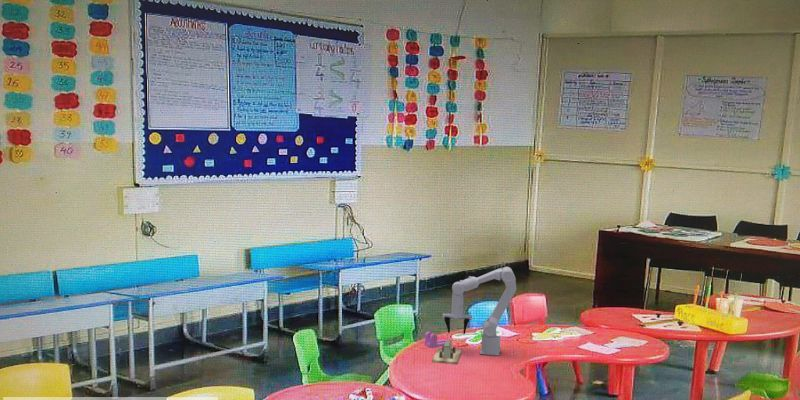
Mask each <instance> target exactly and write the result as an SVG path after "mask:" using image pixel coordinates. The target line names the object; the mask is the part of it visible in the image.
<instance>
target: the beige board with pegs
mask: <svg viewBox="0 0 800 400" xmlns="http://www.w3.org/2000/svg"><path fill="white" fill-rule="evenodd" d="M462 354H463V349H460V348H459V349H457V348H456V346H453V347H452V348H451V353H450V356H449V358H444V346H441V347H437V350H436V352H435V354H434V356H433V358H432V359H431V362H432V363H438V364H439V363H440V364H451V365H458V363H459V362H460V361H459V360H460V357H461V355H462Z"/></svg>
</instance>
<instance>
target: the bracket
mask: <svg viewBox="0 0 800 400" xmlns="http://www.w3.org/2000/svg"><path fill="white" fill-rule="evenodd" d="M446 340H447V339H438V335H437V334H436V333H432V331H431V332H430V331H427V332H425V334H424V346H427V347H428V348H430V349H433V348H440V347H443V346H444V344H445V342H446Z"/></svg>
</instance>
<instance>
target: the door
mask: <svg viewBox="0 0 800 400" xmlns="http://www.w3.org/2000/svg"><path fill="white" fill-rule="evenodd" d="M445 340H446V342H445V344H444V358H449V356H450V353H451V349H452V345H453V343H452V340H451V339H445Z"/></svg>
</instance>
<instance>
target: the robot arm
mask: <svg viewBox="0 0 800 400" xmlns="http://www.w3.org/2000/svg"><path fill="white" fill-rule="evenodd" d="M516 278H517V277H516V276H515V274H514V271H513V270H512V268H511V267H510V266H504V267H500V268H497V269H495V270H492V271H489V272H487V273H485V274H482V275H480V276H478V277H475V276H471V275H469V276H468V278H465V279H463V280H462V279H460V280H459V281H455V282H454V283H453V284H452V286H451V289H452V290H451V291H452V295H451V313H442V319H443V320H444V323H445V326H446V329H447V333H448V334H450V333H451V319H455V320H463V332H462V333H463V335H465V334H466V331H467V327H468V324H469V322H470V321H472V320H473V318H472V317H473V315H472V314H464V292H469V291H471V290H474V289H477V288H478V287H479V285H480V284H483V283H486V282H490V281H492V280H497V281H501V280H502V282H503V283H504V286H505V290H504V291H503V293H502V295H501V297H500V298H499V300H498V302H497V304H496V306H495V307H494V309H493V311H492V313H491V314H490V315H489V316H488V318H487V319H486V320H485V321H483V323H482V328H483V331H482V333H481V345H480V347H481V348H480V351H479V354H480V355H487V356H499V355H500V352H501V335H497V333H496V332H497V327H498V326H499V322H500V320H501V318H502V316H503V315H504V313H505V312H506V309H507V307H508V306H509V304H510V302H511V300H512V299H513V297H514V295H515V293H516V292H517V282H516V281H517V279H516Z"/></svg>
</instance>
